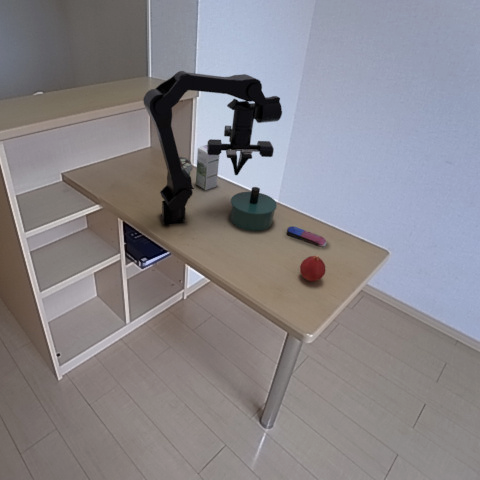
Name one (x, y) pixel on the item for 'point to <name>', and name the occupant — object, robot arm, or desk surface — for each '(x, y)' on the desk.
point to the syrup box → (206, 169)
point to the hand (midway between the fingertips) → (236, 174)
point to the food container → (186, 164)
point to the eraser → (306, 236)
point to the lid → (253, 202)
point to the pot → (251, 220)
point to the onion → (312, 268)
